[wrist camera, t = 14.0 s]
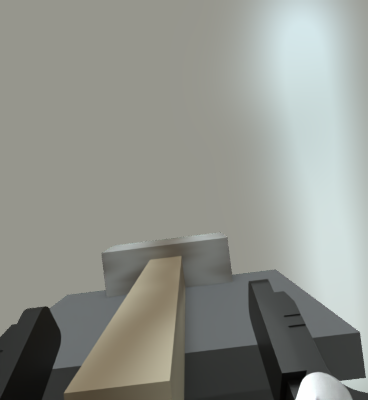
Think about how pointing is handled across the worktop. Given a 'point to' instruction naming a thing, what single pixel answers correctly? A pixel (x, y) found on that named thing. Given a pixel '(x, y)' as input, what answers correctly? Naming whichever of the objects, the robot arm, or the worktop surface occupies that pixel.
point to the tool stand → (209, 338)
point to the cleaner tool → (149, 317)
